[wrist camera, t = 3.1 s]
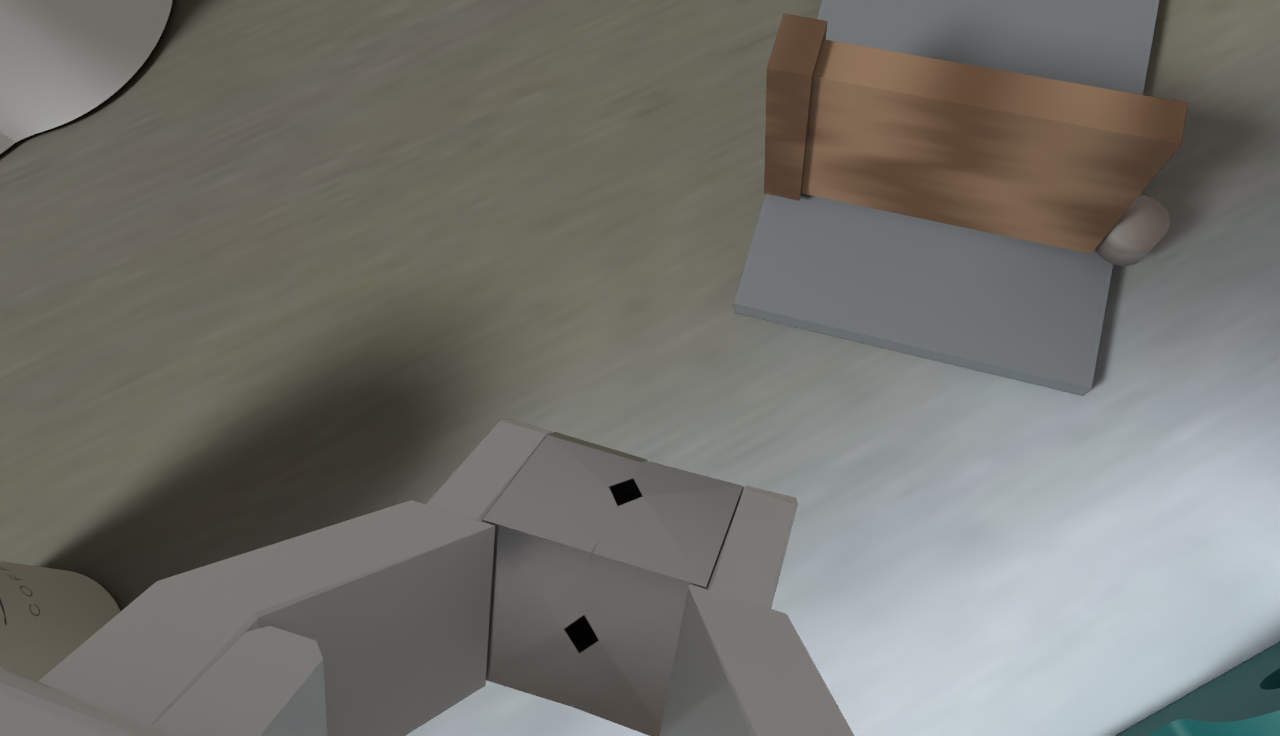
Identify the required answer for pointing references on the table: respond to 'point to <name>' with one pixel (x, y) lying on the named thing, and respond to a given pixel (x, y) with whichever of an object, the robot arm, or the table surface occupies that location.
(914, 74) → the gate leaf
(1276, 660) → the bracket
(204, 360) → the table surface
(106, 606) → the travel mug
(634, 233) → the table surface
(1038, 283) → the grey plate
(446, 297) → the table surface
